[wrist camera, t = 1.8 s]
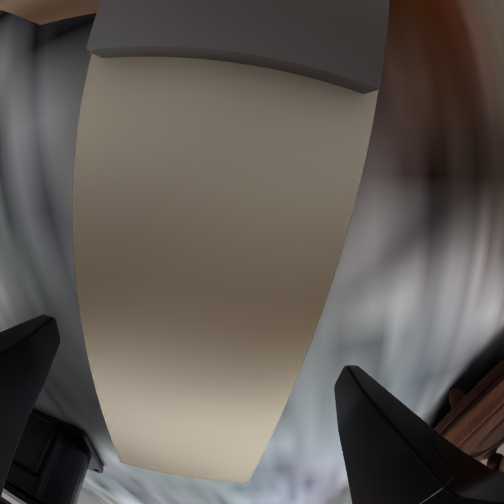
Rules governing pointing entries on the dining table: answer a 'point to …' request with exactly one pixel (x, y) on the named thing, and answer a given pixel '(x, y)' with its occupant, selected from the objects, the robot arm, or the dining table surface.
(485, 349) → the dining table surface
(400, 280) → the dining table surface
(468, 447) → the brown wooden stand
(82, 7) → the square dumbbell
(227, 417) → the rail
